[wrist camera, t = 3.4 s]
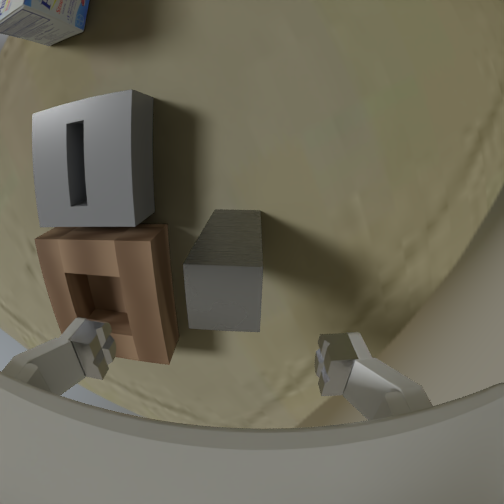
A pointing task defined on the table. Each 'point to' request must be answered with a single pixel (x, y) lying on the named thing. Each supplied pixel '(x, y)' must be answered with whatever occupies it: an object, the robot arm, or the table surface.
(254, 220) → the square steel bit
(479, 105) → the table surface
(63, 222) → the grey slot block
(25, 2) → the medicine box
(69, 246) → the walnut bore block
